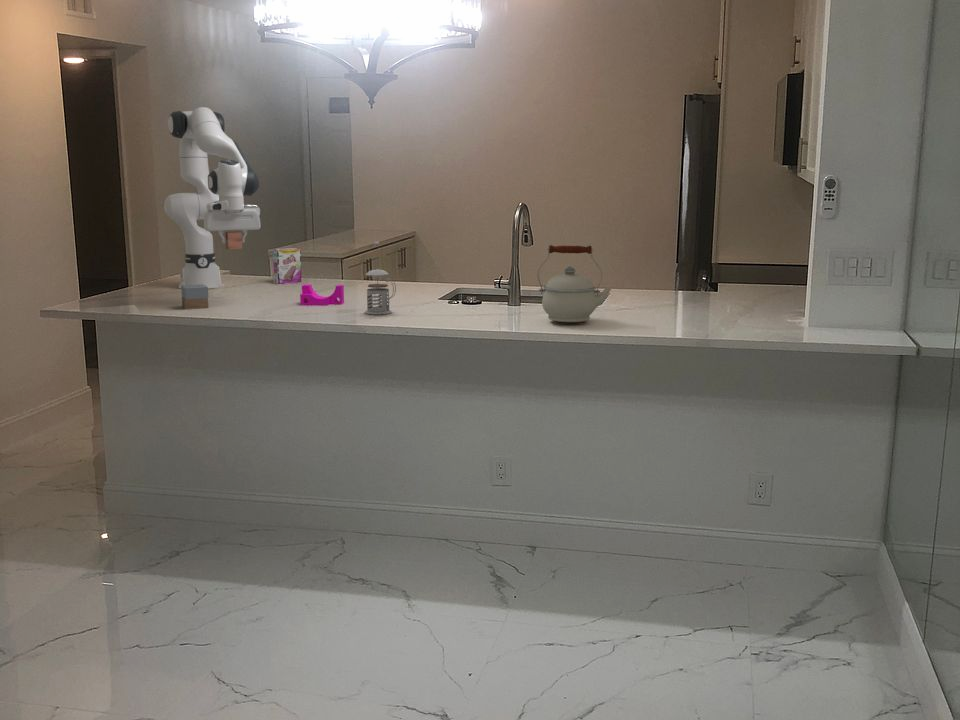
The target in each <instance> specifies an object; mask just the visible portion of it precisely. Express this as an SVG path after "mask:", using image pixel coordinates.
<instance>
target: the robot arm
mask: <svg viewBox="0 0 960 720" xmlns="http://www.w3.org/2000/svg"><path fill="white" fill-rule="evenodd" d="M167 128H168V131H169V133H170V135H171V136H172V137H174V138H176V139H179V147H178V149H179V151H178V152H179V153H178V154H179V156H178V157H179V167H180V169H179V170H180V177H181V179H182V180H183V181H184V182H186V183H188V184H190V185H192V186H194V187H195V189H196V191H197V192H178V193H172V194H169V195H168V196H167V197H165V200H164V202H163V209H164V210H163V211H164V212H165V215H167V216H168V218H170V220H172V221H174V222H175V224H177V225H178V227H179V228H180V230H181V232H182V233H183V237H184V245H185V246H184V247H185V253H184V254H185V255H184V262H185V265H184V267H182V270H181V271H180V272H179V278H181V281H180V283H179V284H178V289H179V290H180V289H181V286H186V285H205V286H207V287H208V290H209V289H218V288H220V287H225V286H226V284H225V283H223V282H222V280H221V271H220V266H219V265H217V264H216V254H215V252H214V249H215V248H214V238H213V237H214V236H213V234H212V233H211V232H218V235H219V236H220V238H221V240H222V241H221V243H222V244H225V243H227V238H225V232H231V231H241V234H242V244H243V243H244V244H245V243H246V241H245V240H246V239H245V238H246V236H247V234H248V231H254V230H255V231H257V230H258V231H259V230H260V229H261V227H262V226H261V225H262V224H261V218H260V215H261V208H260V207H259V206H258V205H256V204H245V200H244V199H245V198H244V196H245V197H251V196H253V195H254V194H255V193H256V192H257V191H258V190H259V188H260V181H259V176H258V174H257V172H256V171H255V170H254V169H253V168H252V167H251V165H250V164H249V162H248V160H247V158H246V156H245V155H244V153H243V151H242V150H241V148H240V147H239V145H238V143H237V142H236V141H235V140H234V139H233V138H231V137H229V136H228V135H227V134H226V133H225V130H226V122H225V119H224V116H223V115H222V114H221V113H219V112H217V111H213V110H212V109H211V108H209V107H206V106H200V107H197V108H194V110H184V111H181V110H175V111H172V112H171V113H170V114H169V117H168V120H167ZM208 155H212V156H217V157H221V158H224V159H222V160H219V161H218V163H217V168H215V169H213V170H211V171H210V167H209V158H208ZM199 220H200V221H201V220H203V227H201V226H200V225H198V223H197V221H199ZM224 231H225V232H224ZM223 234H224V235H223Z"/></svg>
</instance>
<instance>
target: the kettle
mask: <svg viewBox="0 0 960 720" xmlns="http://www.w3.org/2000/svg"><path fill="white" fill-rule="evenodd" d="M547 251H548V253H547V257H546V259H545V260H544V261H543V262H542V263H541V265H540V266H539V268H538V270H537V271H536V272H537V273H536V274H537V281H538V284H539V286H540V288H539V289H538V292H540V294H543V296H542V298H541V299H542V300H541V305H542V308H543V310H544V312H545V313H546V314H547V319H548V320H550V321H554V322H561V323H581V322H582V323H583V322H586V321H589V320H590V316H591V315H592V313H594V311H595V310H596V309H597V308H598V307H599V306H600V305H602V304H603V302H604V301H606V300H605V299H606V298H607V296H608V295H609V294H610V292H611V290H612V287H609V286H606V287H605V288H604V289H603V291H602V292H601V290H600V289H599V288H600V285H601V283H602V279H603V270H602V268H601V267H600V266H599V264H598V263H597V261H596V260H595V259H594V258H593V251H594V248H593V246H592V245H587V246H583V245H557V246H555V245H552V244H550V245H548V247H547ZM553 253H557V254H558V253H559V254H584V253H586V254H589V255H590V257H591V260H592V261H593V263H594V264H595V265H596V267H597V268H598V269H599V272H600V274H601V277H600V281H599V284H598V285H597V287H596V286H595V285H594V284H593V282H592V280H591V279H590V278H588V277H586V276H584V275H581V274H576V272H577V271H576V270H575V268H574V267H573V266H571V265H570V266H568V267H566V268H565V269H564V270H563V272H564V273H563V274H562V273H561V274H557V275H555V276H554V275H553V276H552V277H551V278H549V279H548V280H547V282H546V284H545V285H544V286H542V283H541V281H540V276H539V273H540V270H541V268H542V266H543V265H545V263H546V262H547V261H548V259H549V257H550V254H553Z"/></svg>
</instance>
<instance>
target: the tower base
mask: <svg viewBox="0 0 960 720" xmlns="http://www.w3.org/2000/svg"><path fill="white" fill-rule="evenodd" d="M181 305H182V308H184V309H185V310H197V309H202V310H203V309H209V298H199V299H185V298H183V297H182V296H181Z"/></svg>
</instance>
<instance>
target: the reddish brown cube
mask: <svg viewBox="0 0 960 720" xmlns="http://www.w3.org/2000/svg"><path fill="white" fill-rule="evenodd" d="M242 236H243V233H242V231H241V232H240V231H225V232H224V238H227V243H224V244H225V249H227V250H242V249H243V243H242Z"/></svg>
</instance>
